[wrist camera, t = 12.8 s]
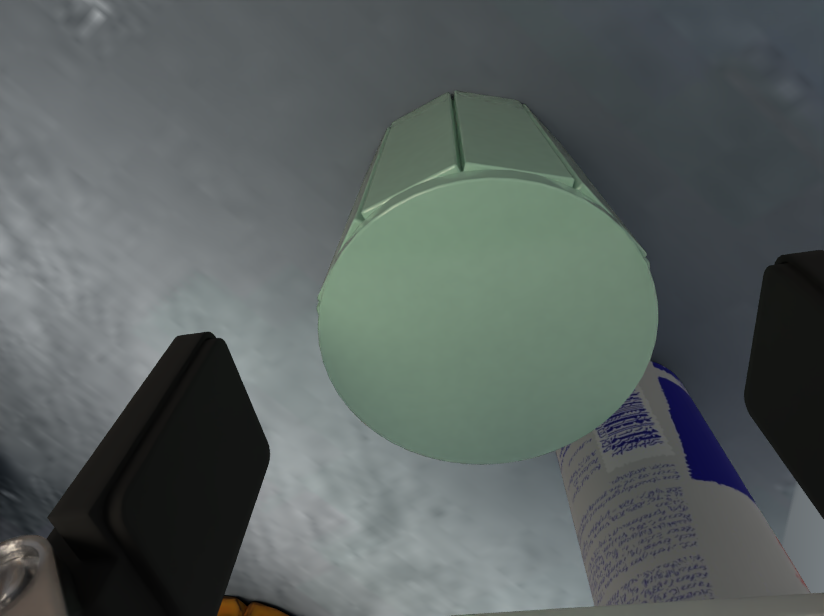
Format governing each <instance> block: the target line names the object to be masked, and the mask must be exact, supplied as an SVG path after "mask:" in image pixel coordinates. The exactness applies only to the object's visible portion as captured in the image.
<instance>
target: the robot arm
mask: <svg viewBox="0 0 824 616" xmlns="http://www.w3.org/2000/svg"><path fill="white" fill-rule="evenodd" d="M744 399H745V404H746V408H747V410H748V412H749V414H750V416H751V417H752V419H753V420H754V421H755V423H756V424H757V426H758V427H759V428H760V430H761V431H762V433H763V434H764V436H765V437H766V438H767V440H768V441H769V443H770V444H771V445H772V447H773V448H774V450H775V451H776V452H777V454H778V455H779V457H780V458H781V460H782V461H783V462H784V464H785V465H786V467H787V468H788V469H789V471H790V472H791V474H792V475H793V477H794V478H795V479H796V481H797V482H798V484H799V485H800V486H801V488H802V489H803V491H804V492H805V493H806V495H807V496H808V498H809V499H810V501H811V502H812V503H813V505H814V506H815V507H816V509H817V510H818V512H819V513H820V515H821V516H822V517H823V519H824V251H823V250H816V251H808V252H801V253H793V254H786V255H781V256H780V257H778V258H777V260H776V262H775V264H774V265H770V266H768V267H767V268H766V270H765V272H764V275H763V281H762V287H761V293H760V300H759V306H758V312H757V318H756V324H755V330H754V336H753V342H752V348H751V355H750V361H749V367H748V373H747V379H746V385H745V391H744ZM269 460H270V449H269V445H268V442H267V439H266V437H265V434H264V432H263V430H262V427H261V425H260V423H259V420H258V418H257V415H256V413H255V411H254V408H253V406H252V404H251V401H250V399H249V396H248V394H247V392H246V389H245V387H244V385H243V382H242V380H241V377H240V375H239V373H238V370H237V368H236V366H235V363H234V361H233V358H232V356H231V354H230V351H229V349H228V347H227V344H226V343H225V341H224V340H223V339H221V338H216V337H215V336H214V335H213V334H212V333H211V332H202V333H195V334H187V335H180V336H177V337H176V338H175V339H174V340H173V342H172V343H171V344H170V346H169V347H168V349H167V350H166V352H165V353H164V354H163V356H162V357H161V359H160V360H159V361H158V363H157V364H156V366H155V367H154V368H153V370H152V371H151V373H150V374H149V375H148V377H147V378H146V380H145V381H144V382H143V384H142V385H141V387H140V388H139V389H138V391H137V392H136V394H135V395H134V397H133V398H132V399H131V401H130V402H129V404H128V405H127V406H126V408H125V409H124V411H123V412H122V413H121V415H120V416H119V418H118V419H117V420H116V422H115V423H114V425H113V426H112V427H111V429H110V430H109V432H108V433H107V435H106V436H105V437H104V439H103V440H102V442H101V443H100V444H99V446H98V447H97V449H96V450H95V451H94V453H93V454H92V456H91V457H90V458H89V460H88V461H87V463H86V464H85V465H84V467H83V468H82V470H81V471H80V472H79V474H78V475H77V477H76V478H75V480H74V481H73V482H72V484H71V485H70V487H69V488H68V489H67V491H66V492H65V494H64V495H63V496H62V498H61V499H60V501H59V502H58V503H57V505H56V506H55V508H54V509H53V510H52V512H51V513H50V515H49V516H48V517H47V518H48V519H49V521H50V522H51V523H52V524H53V526H54V527H55V528H54V529H53V530H52V532H51V533H50V535H49V536H48V538H47V539H45V538H43V537H41V536H38V535H22V536H19V537H15V538H11V539H7V540H5V541H3V542H1V543H0V616H217V615H218V612H219V609H220V606H221V603H222V600H223V597H224V594H225V591H226V588H227V585H228V582H229V579H230V576H231V573H232V570H233V567H234V564H235V562H236V559H237V556H238V553H239V550H240V547H241V544H242V541H243V538H244V535H245V532H246V529H247V526H248V523H249V520H250V517H251V514H252V511H253V509H254V506H255V503H256V500H257V497H258V494H259V491H260V488H261V485H262V482H263V479H264V476H265V473H266V470H267V467H268V464H269ZM453 616H824V593H811V594H794V595H777V596H760V597H743V598H726V599H709V600H692V601H675V602H658V603H641V604H625V605H609V606H594V607H578V608H562V609H546V610H530V611H515V612H499V613H484V614H468V615H453Z"/></svg>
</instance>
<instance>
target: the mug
mask: <svg viewBox="0 0 824 616" xmlns="http://www.w3.org/2000/svg"><path fill="white" fill-rule="evenodd" d="M217 616H289V615H287V614H285V613H283V612H281V611H279V610H277V609H274V608H271V607H269V606H266V605H263V604H260V603H257V602H252V603H250V604H249V605H248V606H246V605H245V604H244V603H243V602H241V601H240V600H239V599H237V598H236V597H227V596H224V597H223V600H222V603H221V606H220V609H219V612H218V615H217Z"/></svg>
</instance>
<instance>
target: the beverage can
mask: <svg viewBox="0 0 824 616" xmlns="http://www.w3.org/2000/svg"><path fill="white" fill-rule="evenodd" d="M556 454H557V458H558V462H559V466H560V470H561V474H562V478H563V482H564V486H565V490H566V494H567V498H568V502H569V506H570V510H571V514H572V518H573V522H574V526H575V530H576V534H577V538H578V542H579V546H580V550H581V554H582V558H583V562H584V566H585V569H586V573H587V577H588V581H589V585H590V589H591V593H592V597H593V601H594V605H595V606H609V605H625V604H641V603H658V602H675V601H692V600H709V599H726V598H743V597H760V596H777V595H794V594H811V593H810V591H809V589H808V588H807V586H806V584H805V583H804V581H803V580H802V578H801V577H800V575H799V573H798V571H797V570H796V568H795V567H794V565H793V563H792V562H791V560H790V558H789V557H788V555H787V554H786V552H785V550H784V549H783V547H782V545H781V544H780V542H779V540H778V539H777V537H776V536H775V534H774V532H773V531H772V529H771V527H770V526H769V524H768V523H767V521H766V519H765V518H764V516H763V514H762V513H761V511H760V509H759V508H758V506H757V505H756V503H755V501H754V500H753V498H752V496H751V495H750V493H749V492H748V490H747V488H746V487H745V485H744V483H743V482H742V480H741V479H740V477H739V475H738V474H737V472H736V470H735V469H734V467H733V465H732V464H731V462H730V461H729V459H728V457H727V456H726V454H725V452H724V451H723V449H722V448H721V446H720V444H719V443H718V441H717V439H716V438H715V436H714V435H713V433H712V431H711V430H710V428H709V426H708V425H707V423H706V421H705V420H704V418H703V417H702V415H701V413H700V412H699V410H698V408H697V407H696V405H695V404H694V402H693V400H692V399H691V397H690V395H689V394H688V392H687V390H686V389H685V387H684V386H683V384H682V382H681V381H680V380H679V378H678V377H677V376H676V375H675V374H674V373H673V372H672V371H670V370H669V369H667V368H666V367H664V366H662V365H660V364H658V363H655V362H652V361H649V363H648V366H647V368H646V370H645V372H644V375H643V377H642V378H641V380H640V381H639V383H638V385H637V386H636V388H635V389H634V391H633V392H632V394H631V395H630V396H629V397H628V399H627V400H626V401H625V402H624V403H623V405H622V406H621V407H620V408H619V409H618V410H617V411H616V412H615V413H614V414H613V415H612V416H611V417H609V418H608V419H607V420H606V421H605V422H604V423H602V424H601V425H600V426H598V427H597V428H596V429H594V430H593V431H592V432H590V433H588V434H587V435H585V436H583V437H582V438H580V439H578V440H577V441H575V442H573V443H571V444H569V445H567V446H564V447H562V448H560V449H558V450H556Z"/></svg>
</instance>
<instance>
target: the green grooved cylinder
mask: <svg viewBox="0 0 824 616" xmlns="http://www.w3.org/2000/svg"><path fill="white" fill-rule="evenodd" d="M646 255H647V253H646V252H645V250H644V249H643V248H642V246H641V245H640V244H639V243H638V241H637V240H636V239H635V238H634V236H633V235H632V234H631V232H630V231H629V230H628V229H627V227H626V226H625V225H624V223H623V222H622V221H621V220H620V218H619V217H618V216H617V215H616V213H615V212H614V211H613V209H612V208H611V207H610V206H609V204H608V203H607V202H606V201H605V199H604V198H603V197H602V195H601V194H600V193H599V192H598V190H597V189H596V188H595V187H594V185H593V184H592V183H591V181H590V180H589V179H588V178H587V176H586V175H585V174H584V173H583V171H582V170H581V169H580V167H579V166H578V165H577V164H576V162H575V161H574V160H573V159H572V157H571V156H570V155H569V153H568V152H567V151H566V150H565V148H564V147H563V146H562V145H561V144H560V143H559V142H558V141H557V139H556V138H555V137H554V136H553V135H552V134H551V133H550V132H549V130H548V129H547V128H546V127H545V126H544V125H543V124H542V123H541V121H540V120H539V119H538V118H537V117H536V116H535V115H534V114H533V113H532V111H531V110H530V109H529V108H528V107H527V106H526V105H525V104H523V105H521V103H520V102H519V101H518V100H512V99H505V98H499V97H493V96H486V95H480V94H473V93H467V92H461V91H454V95H453V99H452V97H451V95H450V93H449V92H447V93H445V94H444V95H442V96H440V97H438V98H436V99H434V100H433V101H431V102H429V103H427V104H425V105H423V106H422V107H420V108H418V109H416V110H414V111H412V112H411V113H409V114H407V115H405V116H403V117H401V118H400V119H398V120H396V121H394V122H393V123H392V124H391V127H390V128H387V129H386V132H385V134H384V136H383V138H382V140H381V143H380V145H379V147H378V149H377V151H376V154H375V156H374V158H373V160H372V162H371V165H370V167H369V169H368V171H367V173H366V176H365V178H364V180H363V182H362V185H361V187H360V190H359V193H358V195H357V198H356V200H355V203H354V205H353V208H352V210H351V213H350V216H349V218H348V221H347V223H346V226H345V228H344V231H343V233H342V236H341V239H340V241H339V244H338V246H337V249H336V251H335V254H334V256H333V259H332V262H331V264H330V267H329V269H328V272H327V274H326V277H325V279H324V282H323V284H322V287H321V290H320V292H319V295H318V297H317V298H318V301H319V302H318V305H317V312H318V315H319V316H318V337H319V346H320V351H321V355H322V359H323V363H324V365H325V368H326V371H327V373H328V376H329V378H330V380H331V382H332V384H333V386H334V387H335V389H336V391H337V393H338V394H339V396H340V397H341V398H342V400H343V401H344V402H345V404H346V405H347V406H348V408H349V409H350V410H351V411H352V412H353V413H354V414H355V415H356V416H357V417H358V418H359V419H360V420H361V421H362V422H363V423H364V424H366V425H367V426H368V427H369V428H371V429H372V430H373V431H374V432H376V433H377V434H379V435H380V436H382V437H384V438H385V439H387V440H388V441H390V442H392V443H394V444H396V445H398V446H400V447H402V448H404V449H406V450H409V451H411V452H414V453H417V454H420V455H423V456H425V457H429V458H434V459H438V460H442V461H447V462H454V463H461V464H480V465H484V464H502V463H509V462H516V461H522V460H526V459H530V458H534V457H538V456H541V455H544V454H547V453H550V452H553V451H555V450H558V449H560V448H562V447H564V446H567V445H569V444H571V443H573V442H575V441H577V440H578V439H580V438H582V437H583V436H585V435H587V434H588V433H590V432H592V431H593V430H594V429H596V428H597V427H598V426H600V425H601V424H602V423H604V422H605V421H606V420H607V419H608V418H609V417H611V416H612V415H613V414H614V413H615V412H616V411H617V410H618V409H619V408H620V407H621V406H622V405H623V403H624V402H625V401H626V400H627V399H628V397H629V396H630V395H631V394H632V392H633V391H634V389H635V388H636V386H637V385H638V383H639V381H640V380H641V378H642V377H643V375H644V372H645V370H646V368H647V366H648V363H649V361H650V359H651V356H652V352H653V349H654V345H655V342H656V336H657V328H658V300H657V295H656V290H655V285H654V281H653V278H652V275H651V273H650V262H649V261H648V260H647V258H646Z"/></svg>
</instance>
